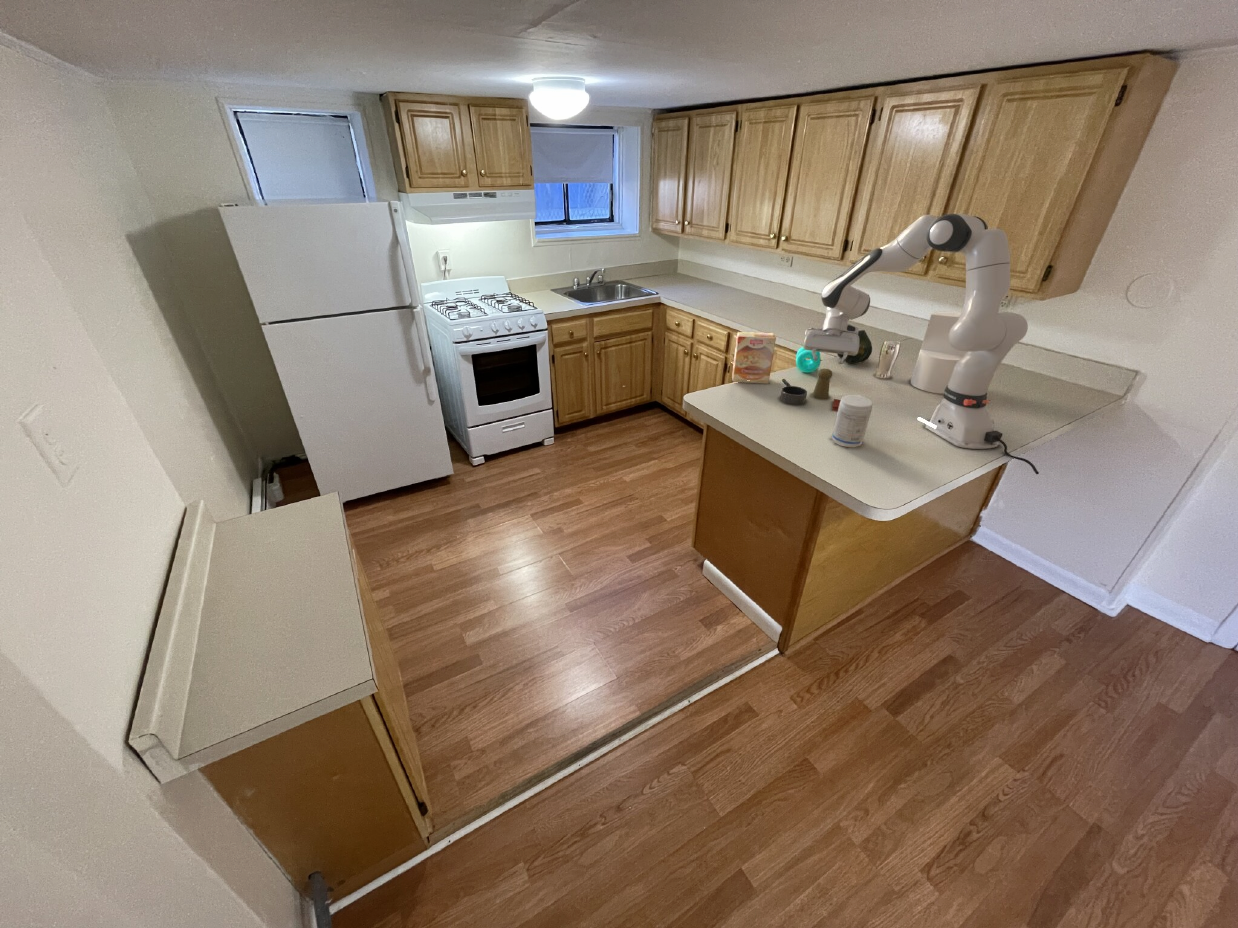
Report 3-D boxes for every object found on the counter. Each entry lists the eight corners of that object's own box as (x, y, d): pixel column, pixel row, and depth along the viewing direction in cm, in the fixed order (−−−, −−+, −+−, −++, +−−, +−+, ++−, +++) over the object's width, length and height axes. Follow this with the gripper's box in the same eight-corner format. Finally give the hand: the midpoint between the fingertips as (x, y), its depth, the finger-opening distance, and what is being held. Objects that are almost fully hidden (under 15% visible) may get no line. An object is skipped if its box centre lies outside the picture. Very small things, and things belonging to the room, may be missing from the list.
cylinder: (912, 375, 220) (932, 309, 205) (958, 382, 212) (982, 315, 198) (908, 388, 207) (930, 319, 192) (957, 397, 199) (983, 325, 185)
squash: (831, 352, 229) (861, 329, 221) (830, 344, 241) (859, 322, 233) (852, 375, 230) (882, 353, 222) (850, 365, 243) (878, 344, 235)
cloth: (833, 402, 195) (834, 398, 194) (852, 405, 193) (853, 401, 192) (832, 410, 189) (833, 406, 188) (852, 413, 186) (853, 409, 186)
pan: (808, 405, 193) (810, 395, 191) (784, 405, 192) (786, 395, 190) (800, 395, 201) (802, 385, 199) (776, 395, 200) (778, 386, 198)
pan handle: (791, 389, 199) (791, 385, 199) (787, 389, 199) (788, 385, 199) (784, 381, 206) (785, 378, 205) (781, 381, 206) (781, 378, 205)
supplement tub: (838, 432, 173) (848, 392, 166) (866, 441, 168) (878, 399, 160) (826, 441, 167) (836, 400, 160) (855, 451, 162) (866, 409, 154)
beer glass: (893, 380, 215) (903, 345, 207) (875, 378, 216) (885, 344, 208) (889, 374, 221) (899, 340, 213) (872, 373, 222) (881, 339, 214)
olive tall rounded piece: (818, 400, 197) (823, 373, 191) (809, 394, 202) (814, 367, 196) (831, 398, 198) (837, 371, 192) (822, 392, 203) (828, 366, 197)
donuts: (794, 372, 223) (798, 350, 218) (794, 364, 231) (798, 343, 226) (818, 374, 220) (822, 352, 215) (817, 367, 228) (822, 345, 223)
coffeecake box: (732, 382, 213) (738, 336, 203) (731, 376, 219) (736, 331, 209) (769, 384, 211) (776, 337, 201) (767, 377, 217) (774, 332, 207)
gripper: (807, 323, 201) (800, 354, 198) (863, 328, 195) (856, 361, 192) (806, 331, 207) (799, 362, 204) (860, 337, 200) (854, 368, 198)
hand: (827, 361), depth 198 cm, fingers open, 8 cm apart
